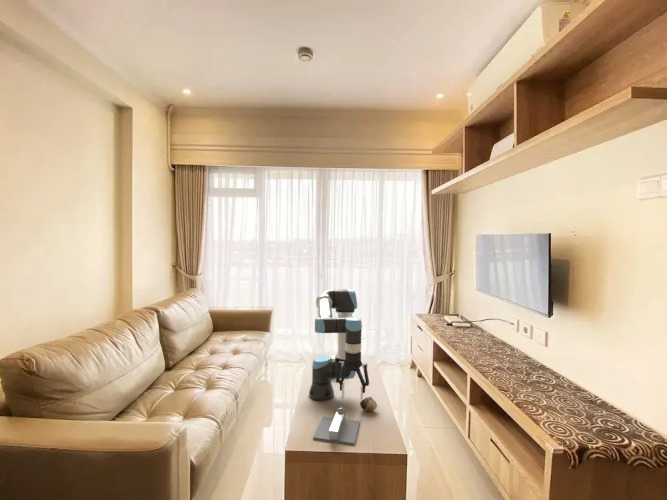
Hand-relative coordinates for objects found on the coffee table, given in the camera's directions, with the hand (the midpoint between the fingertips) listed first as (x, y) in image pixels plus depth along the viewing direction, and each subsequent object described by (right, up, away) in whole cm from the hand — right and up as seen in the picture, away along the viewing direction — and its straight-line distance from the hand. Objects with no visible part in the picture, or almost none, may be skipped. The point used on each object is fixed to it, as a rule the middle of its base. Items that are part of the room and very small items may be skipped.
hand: (352, 398), depth 163 cm
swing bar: (-7, -18, +8) cm, 21 cm away
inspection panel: (-7, -20, +8) cm, 23 cm away
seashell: (+11, -20, +28) cm, 36 cm away
